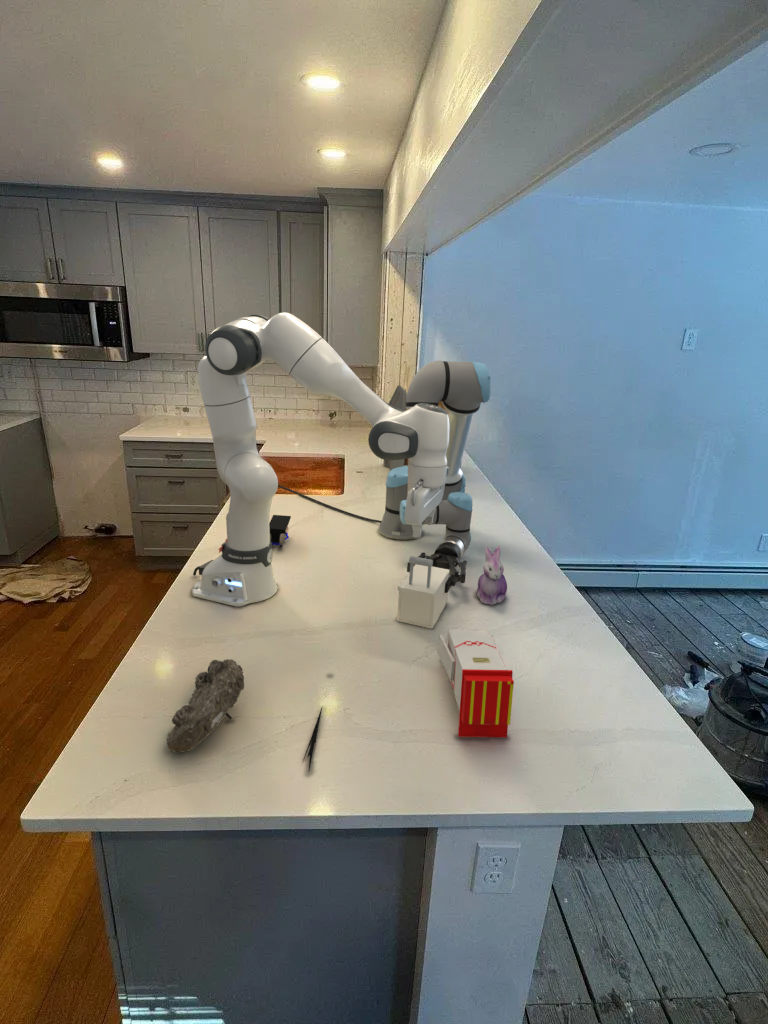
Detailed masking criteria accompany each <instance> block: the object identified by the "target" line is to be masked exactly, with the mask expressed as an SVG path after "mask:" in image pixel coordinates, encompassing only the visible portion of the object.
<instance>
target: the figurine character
mask: <svg viewBox="0 0 768 1024" xmlns="http://www.w3.org/2000/svg"><path fill="white" fill-rule="evenodd" d="M291 517H292V516H291V515H284V514H283V515H282V514H273V515H272V517H271V519H270V520H269V526H270V541H271V544H272V549H273V548H274V546H279V547H278V550H281V549H283V548H282V547H283V546H284V545H285V544H286V541H287V540H288V539H289V538H290V536H289V523H290V521H291Z"/></svg>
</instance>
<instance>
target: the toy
mask: <svg viewBox="0 0 768 1024" xmlns="http://www.w3.org/2000/svg"><path fill="white" fill-rule="evenodd" d="M446 640H447V643H446V641H445V639H444V636H443V635H442V634H439V637H438V646H437V656H438V657H439V659H440V661H441V663H442V666H443V668H444V670H445V672H446V674H447V677H448V679H449V681H450V684H451V687H452V690H453V693H454V697H455V701H456V705H457V708H458V711H459V714H458V715H459V716H458V730H457V731H458V732H457V737H458V738H508V731H509V726H510V725H511V717H512V707H513V697H514V696H513V695H514V684H515V680H514V679H513V673H514V671H513V670H512V669H508V667H507V665H506V662H505V661H504V659H503V658H502V655H501V653H500V651H499V649H498V647H497V643H496V639H495V637H494V635H493V634H491V632H490V631H489V629H467V628H466V629H465V628H463V629H461V628H460V629H459V628H448V630H447V639H446Z"/></svg>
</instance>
